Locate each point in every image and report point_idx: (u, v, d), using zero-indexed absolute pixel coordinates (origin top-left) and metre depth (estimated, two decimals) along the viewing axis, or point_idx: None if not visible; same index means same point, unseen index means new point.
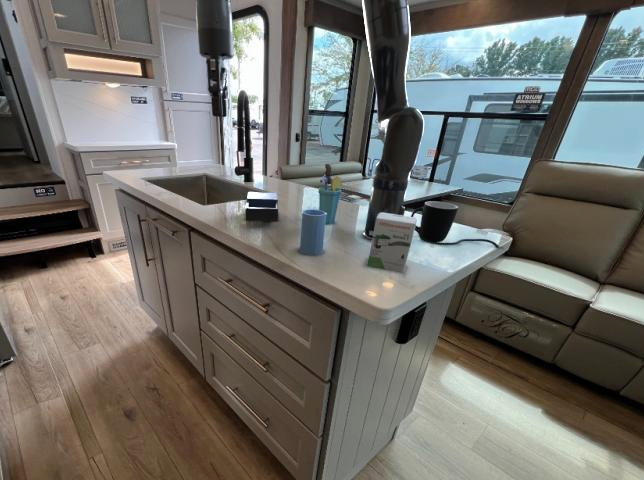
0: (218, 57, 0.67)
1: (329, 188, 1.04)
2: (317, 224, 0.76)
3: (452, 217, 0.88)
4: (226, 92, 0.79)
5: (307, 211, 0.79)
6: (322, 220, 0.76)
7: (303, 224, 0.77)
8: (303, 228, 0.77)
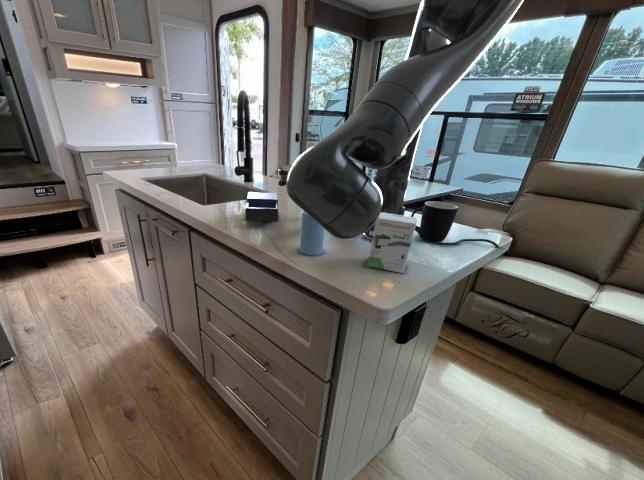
0: None
1: None
2: (317, 224, 0.76)
3: (452, 217, 0.88)
4: None
5: None
6: None
7: (303, 224, 0.77)
8: (303, 228, 0.77)
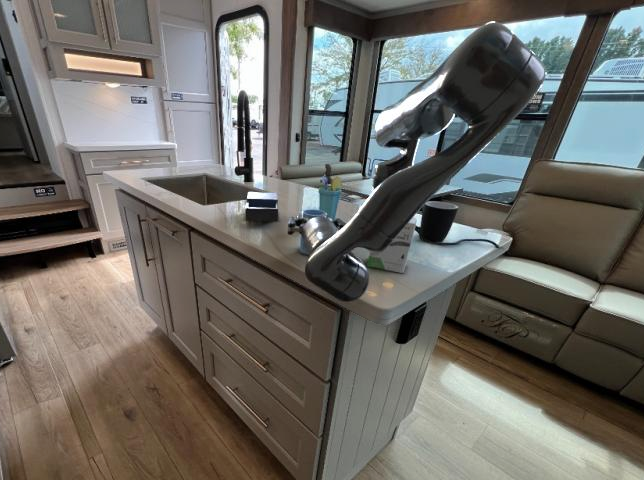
0: None
1: (329, 188, 1.04)
2: None
3: (452, 217, 0.88)
4: (294, 218, 0.74)
5: (307, 211, 0.79)
6: None
7: None
8: None
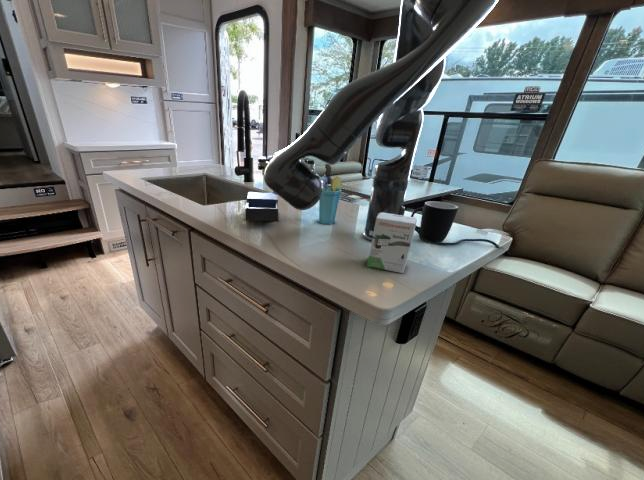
0: None
1: (329, 188, 1.04)
2: None
3: (452, 217, 0.88)
4: (265, 157, 0.78)
5: None
6: None
7: None
8: None
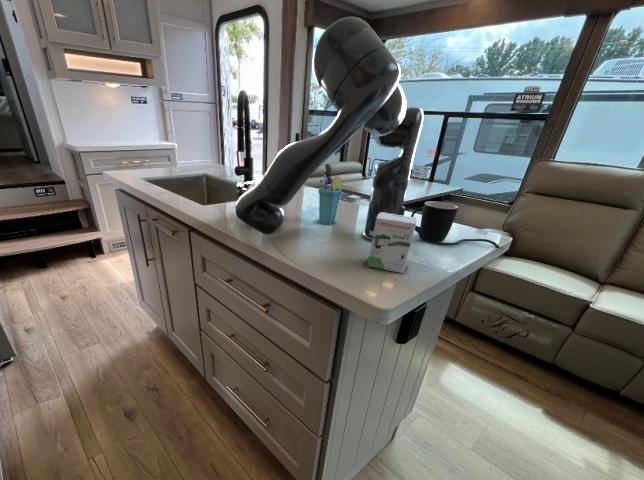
0: None
1: (329, 188, 1.04)
2: None
3: (452, 217, 0.88)
4: (241, 183, 0.91)
5: None
6: None
7: None
8: None
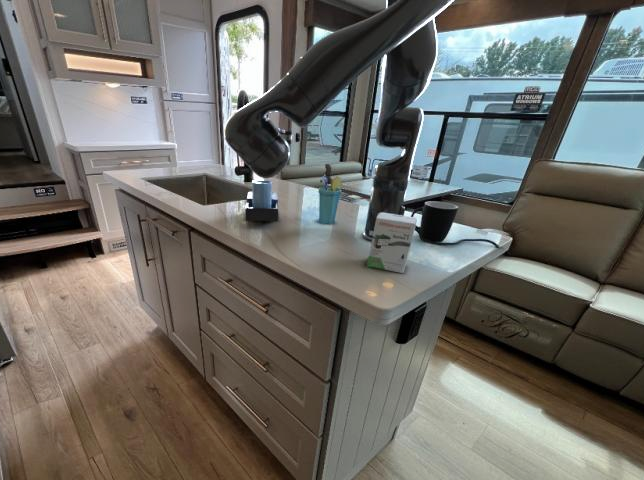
0: None
1: (329, 188, 1.04)
2: (263, 191, 0.93)
3: (452, 217, 0.88)
4: None
5: (257, 181, 0.96)
6: (268, 187, 0.93)
7: (253, 191, 0.94)
8: (253, 194, 0.94)
